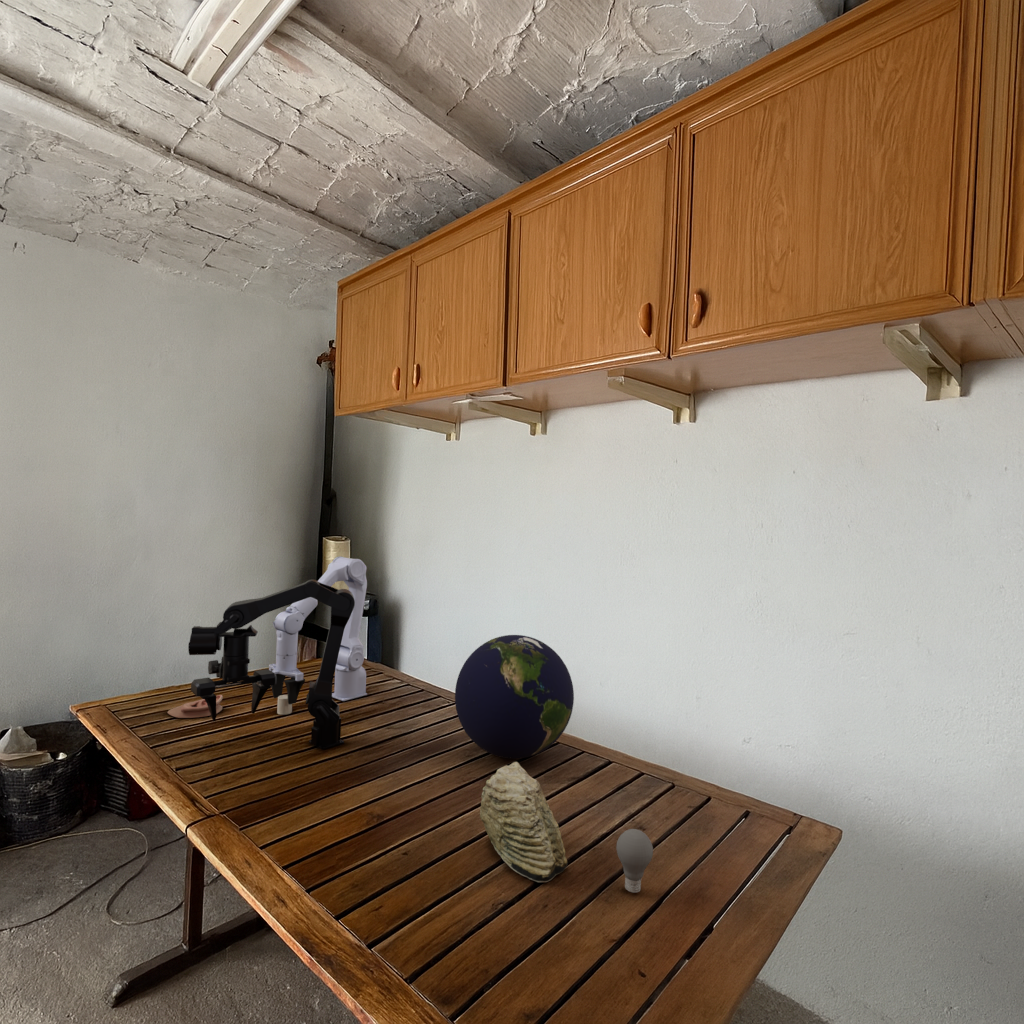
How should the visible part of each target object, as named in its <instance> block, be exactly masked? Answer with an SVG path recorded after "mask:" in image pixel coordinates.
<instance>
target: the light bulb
mask: <svg viewBox="0 0 1024 1024" xmlns="http://www.w3.org/2000/svg"><path fill="white" fill-rule="evenodd" d="M615 849H616V854H617V857H618V859H619V861H620V863H621V865H622V867H623V873H624V874H623V875H624V876H625V878H624V888H625V890H627V891H628V892H630V893H634V894H635V893H639V892H640V891H641V889H642V887H641V886H642V879H643V877H644V875H645V871H646V868H647V867H648V866H649V864H650V863H651V861H652V859H653V855H654V847H653V843H652V841H651V838H649V836H648V835H647V834H646V833H645V832H643V831H642V830H641V829H636V828H629V829H627V830H625V831H623V832H622V833H621V834H620V835H619V837H618V839H617V841H616V847H615Z"/></svg>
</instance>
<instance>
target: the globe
mask: <svg viewBox="0 0 1024 1024" xmlns="http://www.w3.org/2000/svg"><path fill="white" fill-rule="evenodd" d="M454 690H455V691H454V703H455V704H454V705H455V710H456V715H457V718H458V720H459V723H460V725H461V727H462V729H463V731H464V732H465V733H466V735H467V736H468V737H469V739H470V740H471V741H472V742H473V743H474V744H475V745H476V746H478V747H479V748H481V749H482V750H483V751H485V752H487V753H488V754H491V755H493V756H495V757H499V758H503V759H509V760H517V759H526V758H530V757H534V756H536V755H538V754H541V753H542V752H544V751H546V750H547V749H549V748H551V747H552V746H553V745H554V744H555V743H556V742H557V741H558V739H560V738H561V736H563V733H564V732H565V730H566V728H567V727H568V724H569V722H570V719H571V717H572V714H573V710H574V709H573V708H574V701H575V692H574V691H575V690H574V684H573V680H572V676H571V673H570V672H569V669H568V666H567V665H566V664H565V662H564V661H563V659H562V658H561V657H560V655H559V654H558V653H557V652H556V651H555V650H554V649H553V648H552V647H550V646H549V645H548V644H546V643H545V642H543V641H541V640H539V639H537V638H534V637H532V636H527V635H522V634H508V635H500V636H497V637H493V638H491V639H490V640H488V641H485V642H484V643H483V644H481V645H479V646H478V647H476V648H475V650H474V651H472V653H471V654H470V655H469V656H468V657H467V659H466V660H465V661H464V663H463V665H462V667H461V668H460V671H459V673H458V676H457V679H456V683H455V689H454Z"/></svg>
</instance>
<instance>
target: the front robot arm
mask: <svg viewBox="0 0 1024 1024" xmlns="http://www.w3.org/2000/svg"><path fill="white" fill-rule="evenodd" d="M309 597H312V598H314V599H316V600H317V602H319V603H322V604H324V605H325V606H328V607H330V624H329V627H328V628H329V629H328V632H327V637H326V640H325V641H326V642H325V646H324V651H323V654H322V660H321V664H320V668H319V673H318V675H317V678H316V680H315V682H314V681H309V687H308V693H307V694H306V697H305V705H307V712H308V713H309V715H310V716H312V717H313V718H314V719H313V721H312V722H313V723H312V727H311V730H310V731H311V732H310V733H311V735H310V739H309V740H308V743H309V744H310V745H313V746H314V747H316V748H318V749H320V750H327V749H329V748H333V747H336V746H340V745H343V744H344V743H345V741H344V740H343V739H341V737H342V735H341V733H342V717H340V715H341V714H340V705H339V704H338V703H337V702H336V701H335V700H334V699H333V697H332V693H333V682H334V681H333V680H334V678H335V668H336V663H337V659H338V655H339V650H340V646H341V641H342V637H343V633H344V629H345V626H346V624H347V622H348V620H349V618H350V616H351V613H352V611H353V609H354V606H355V601H354V596H353V594H352V593H351V592H350V591H349V589H346V588H340V589H338V588H335V587H333V586H328V585H325V584H322V583H320V582H318V580H316V579H308V580H307V581H304V582H303V583H300V584H296V585H294V586H291V587H288V588H286V589H283V590H279V591H277V592H273V593H271V594H269V595H266V596H263V597H257V598H250V599H244V600H238V601H235V602H233V603H231V604H230V605H228V606H227V608H226V609H225V610H224V611H223V615H222V621H219V622H218V623H217V625H216V626H200V625H199V626H198V625H194V626H192V628H191V632H190V636H189V641H188V645H187V646H188V655H189V656H210V655H211V656H212V655H213V656H214V655H216V654H217V652H218V651H221V650H222V648H223V652H222V656H221V660H220V662H219V660H218V659H215V660H214V659H213V660H208V665H207V670H208V671H207V673H208V675H215V676H216V678H219V680H213V679H212V678H210V677H203V678H195V679H193V680H192V681H191V683H190V692H191V693H192V694H194V695H195V697H197V698H200V699H201V700H202V699H205V701H206V703H207V705H208V708H209V711H210V714H211V715H210V717H211V719H212V721H213V722H216V720H217V713H216V696H217V695H216V694H215V692H216V690H217V689H224V688H231V687H236V686H244V685H251V686H252V696H251V706H250V713H251V714H252V715H254V714H255V713H256V711H257V710H258V707H259V705H260V703H261V701H262V700H263V697H264V696H265V694H266V692H267V691H268V690H271V689H272V688H271V685H275V684H276V682H277V677H276V674H275V673H273V672H272V671H270V670H269V668H267V669H258V670H254V672H253V675H249V664H250V663H251V659H250V658H249V650H250V649H249V647H250V637H256V636H257V635H258V630H256V629H255V628H254V627H253V626H252V624H250V623H252V622H253V621H255V620H257V619H258V618H260V617H261V616H263V615H265V614H267V613H270V612H273V611H276V610H278V609H281V608H284V607H286V606H287V607H288V606H290V605H291V604H292V603H295V602H298V601H301V600H303V599H306V598H309ZM249 624H250V625H249ZM246 625H248V627H247V628H244V627H245V626H246ZM231 629H233V631H230V630H231ZM222 645H223V647H222Z"/></svg>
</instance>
